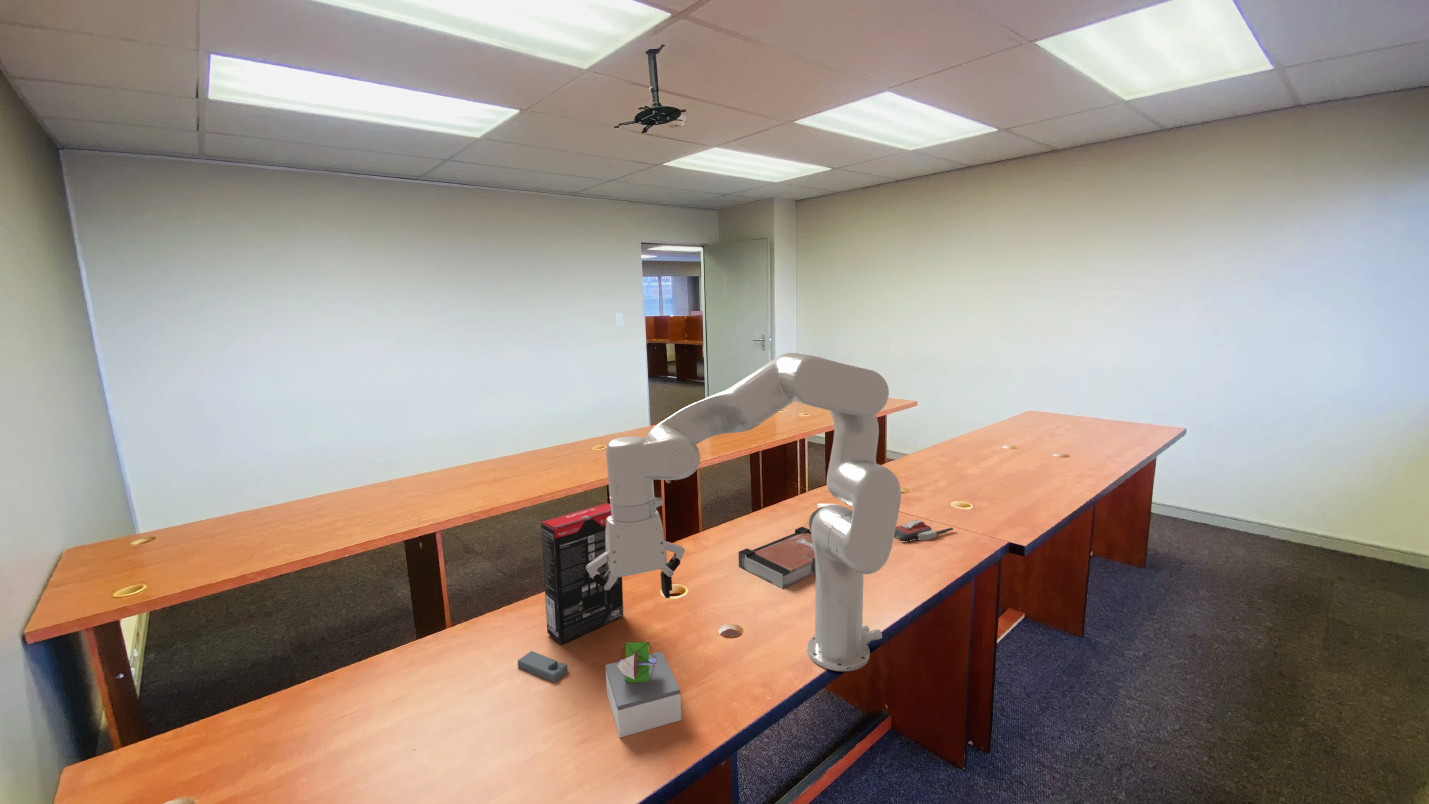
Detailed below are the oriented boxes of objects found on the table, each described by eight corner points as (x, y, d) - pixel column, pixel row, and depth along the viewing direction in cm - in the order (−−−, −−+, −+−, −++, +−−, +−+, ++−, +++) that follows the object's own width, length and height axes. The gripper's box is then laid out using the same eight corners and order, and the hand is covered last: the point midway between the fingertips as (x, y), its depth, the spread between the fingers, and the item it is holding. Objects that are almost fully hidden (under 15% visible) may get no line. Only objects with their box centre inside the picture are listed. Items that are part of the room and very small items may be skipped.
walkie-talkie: (906, 547, 168) (955, 534, 177) (907, 533, 167) (955, 520, 176) (886, 536, 176) (933, 524, 185) (886, 523, 175) (933, 511, 184)
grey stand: (663, 679, 111) (661, 651, 110) (681, 720, 100) (680, 689, 99) (607, 693, 107) (605, 664, 106) (619, 737, 96) (617, 706, 95)
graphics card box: (610, 606, 139) (604, 499, 134) (627, 616, 134) (621, 506, 129) (546, 635, 127) (537, 520, 122) (562, 648, 122) (553, 528, 117)
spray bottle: (808, 534, 180) (811, 507, 204) (843, 535, 178) (842, 509, 201) (808, 525, 179) (811, 500, 203) (843, 526, 177) (842, 501, 201)
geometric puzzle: (623, 649, 107) (617, 633, 101) (659, 649, 107) (655, 632, 101) (619, 690, 102) (612, 676, 96) (657, 690, 102) (652, 675, 96)
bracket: (532, 658, 119) (531, 649, 119) (568, 673, 114) (568, 664, 114) (517, 669, 116) (516, 660, 116) (554, 684, 111) (553, 675, 111)
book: (784, 591, 144) (784, 573, 144) (738, 568, 158) (738, 551, 157) (848, 560, 161) (848, 544, 160) (802, 542, 174) (802, 526, 173)
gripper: (675, 494, 104) (680, 581, 107) (579, 510, 98) (587, 601, 101) (687, 507, 97) (692, 600, 100) (585, 525, 91) (593, 623, 94)
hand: (639, 600), depth 100 cm, fingers open, 9 cm apart
